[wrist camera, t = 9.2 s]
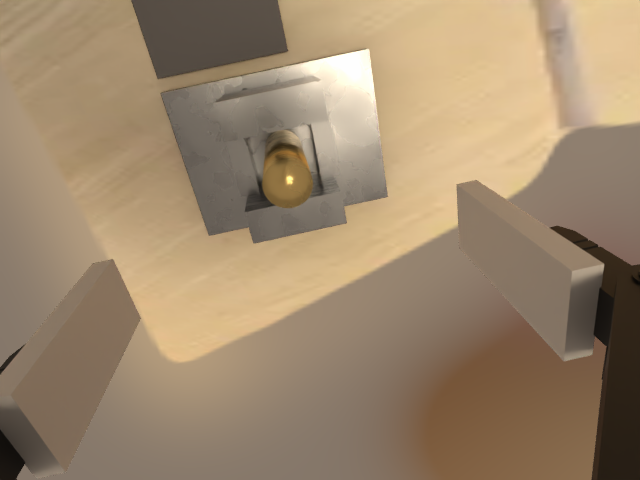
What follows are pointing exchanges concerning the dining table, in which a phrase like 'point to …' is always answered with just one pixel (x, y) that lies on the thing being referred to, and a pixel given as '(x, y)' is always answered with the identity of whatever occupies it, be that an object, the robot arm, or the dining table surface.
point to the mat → (208, 32)
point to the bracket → (274, 115)
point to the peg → (286, 170)
